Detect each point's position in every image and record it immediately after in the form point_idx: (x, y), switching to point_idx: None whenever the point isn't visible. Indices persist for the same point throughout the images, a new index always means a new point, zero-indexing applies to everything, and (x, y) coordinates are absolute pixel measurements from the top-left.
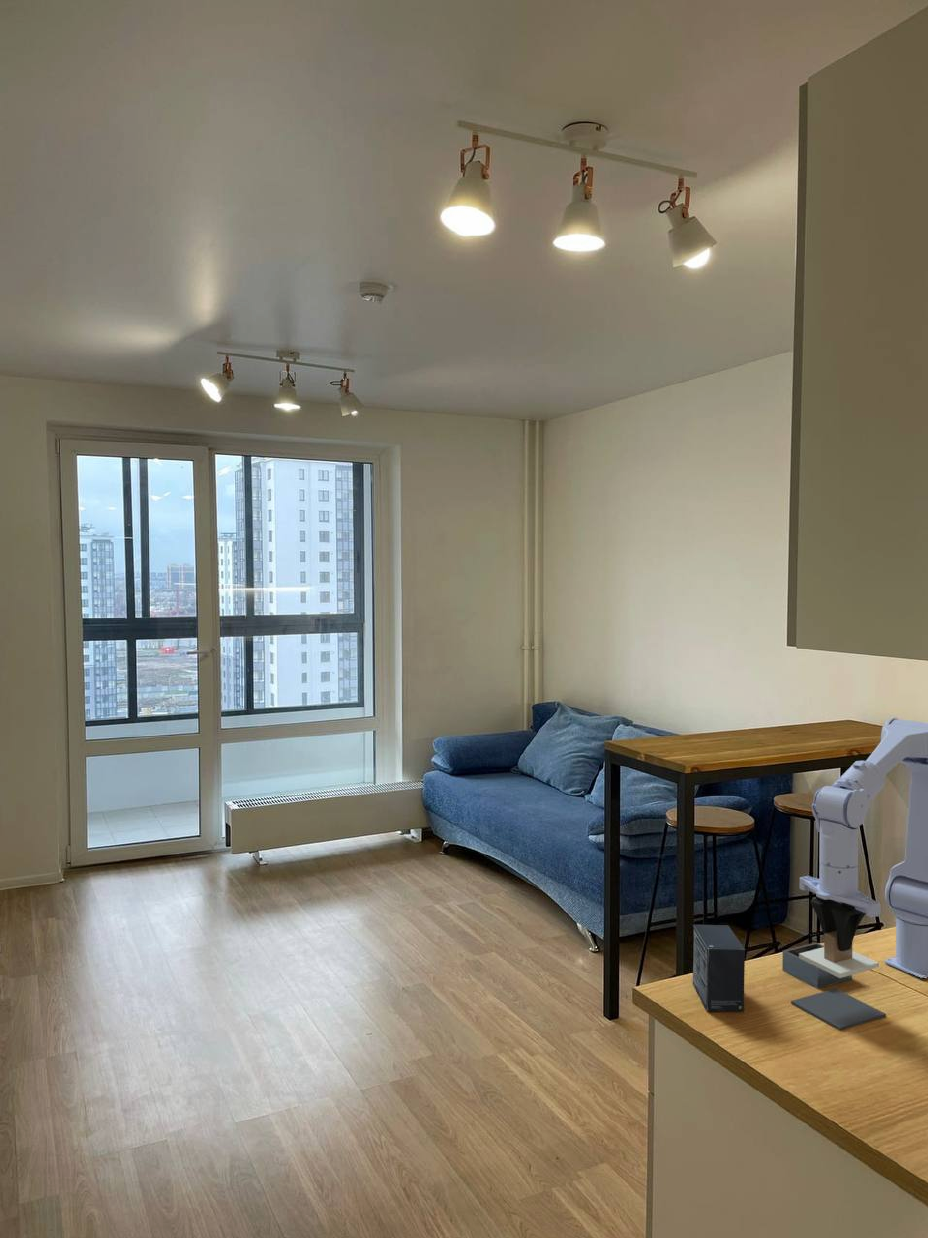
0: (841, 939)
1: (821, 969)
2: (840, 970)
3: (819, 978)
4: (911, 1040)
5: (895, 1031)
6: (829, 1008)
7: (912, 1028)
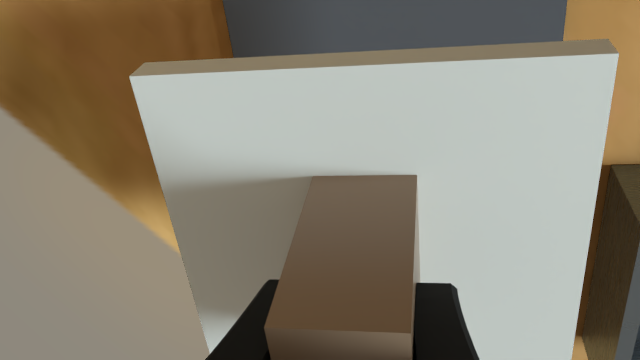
0: (212, 354)
1: (632, 243)
2: (178, 119)
3: (621, 202)
4: (81, 153)
5: None
6: (398, 48)
7: (161, 221)
